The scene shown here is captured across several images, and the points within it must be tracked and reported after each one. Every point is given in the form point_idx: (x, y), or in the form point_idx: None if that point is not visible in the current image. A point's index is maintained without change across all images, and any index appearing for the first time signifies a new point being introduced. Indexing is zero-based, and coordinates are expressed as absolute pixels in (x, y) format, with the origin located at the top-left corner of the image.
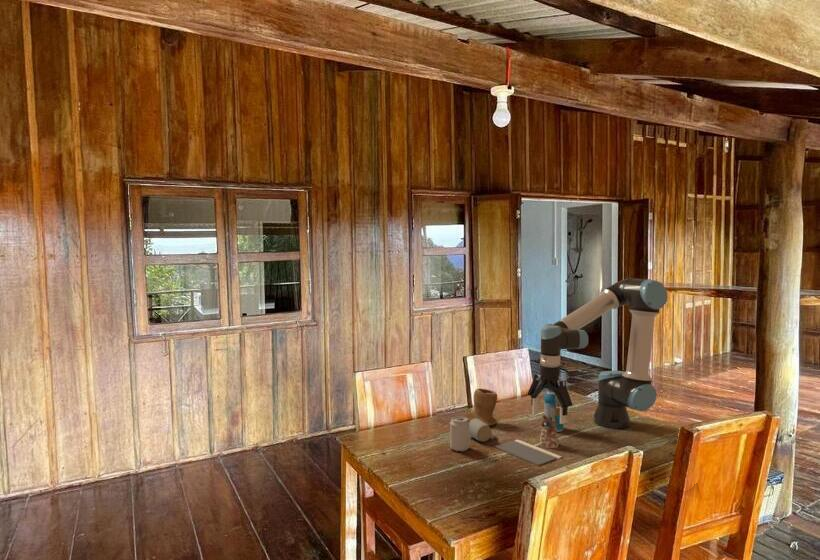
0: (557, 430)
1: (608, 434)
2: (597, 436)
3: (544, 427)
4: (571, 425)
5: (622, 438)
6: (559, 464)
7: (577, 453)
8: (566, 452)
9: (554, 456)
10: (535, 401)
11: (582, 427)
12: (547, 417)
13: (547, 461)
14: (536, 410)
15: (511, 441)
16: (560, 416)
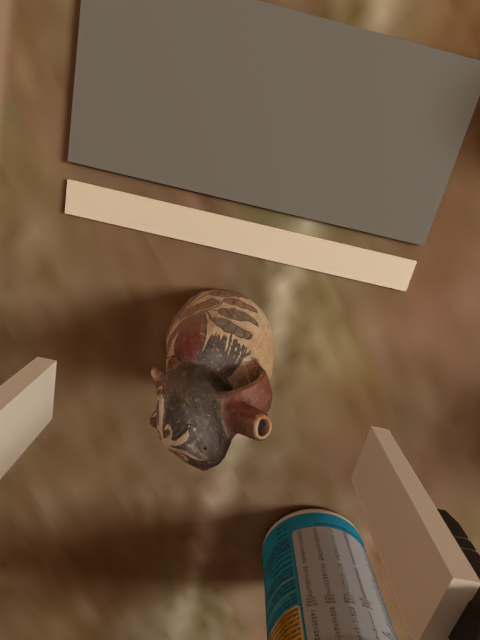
0: (274, 527)
1: (80, 620)
2: (101, 577)
3: (236, 357)
4: (263, 625)
5: (11, 613)
6: (13, 96)
7: (42, 328)
8: (92, 302)
9: (97, 186)
10: (419, 559)
11: (211, 630)
12: (217, 420)
13: (76, 64)
14: (369, 482)
15: (424, 226)
16: (3, 394)
